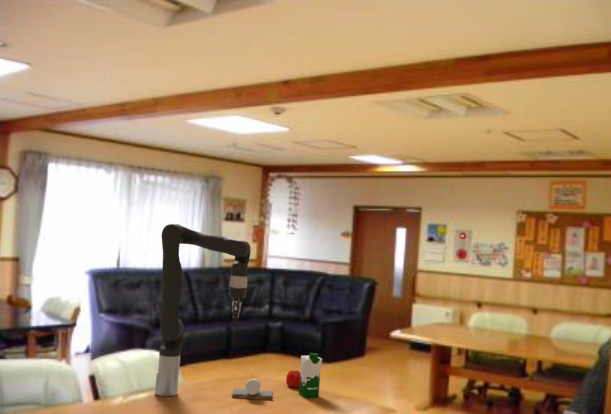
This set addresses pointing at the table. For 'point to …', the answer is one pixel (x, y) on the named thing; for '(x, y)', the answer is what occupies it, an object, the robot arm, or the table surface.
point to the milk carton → (310, 376)
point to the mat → (243, 391)
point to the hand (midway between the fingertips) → (234, 325)
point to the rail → (251, 396)
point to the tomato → (293, 379)
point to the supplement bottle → (252, 386)
